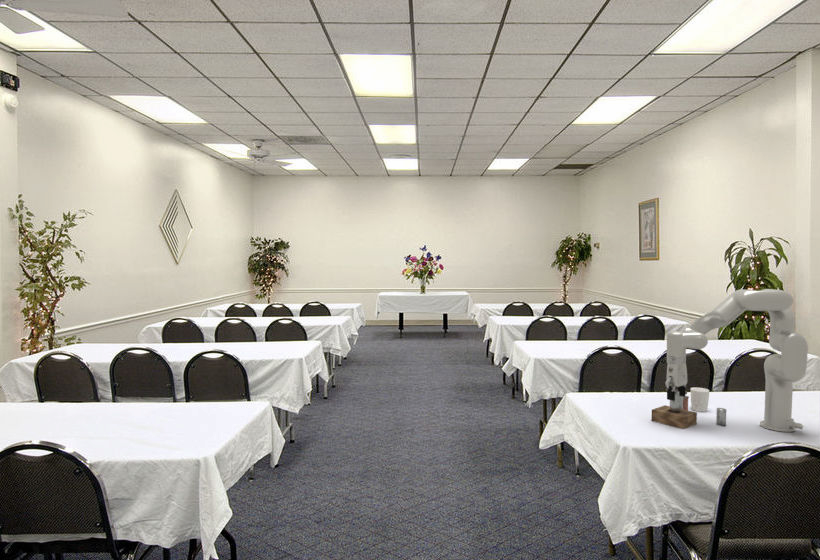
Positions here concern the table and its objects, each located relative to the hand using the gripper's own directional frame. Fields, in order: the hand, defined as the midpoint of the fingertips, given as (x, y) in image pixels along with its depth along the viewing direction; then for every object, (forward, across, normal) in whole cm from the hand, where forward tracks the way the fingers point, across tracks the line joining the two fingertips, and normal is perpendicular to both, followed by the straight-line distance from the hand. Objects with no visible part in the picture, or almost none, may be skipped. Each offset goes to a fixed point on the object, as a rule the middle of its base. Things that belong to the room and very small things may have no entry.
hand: (676, 398), depth 228 cm
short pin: (+11, +13, -13) cm, 22 cm away
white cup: (+12, +29, +3) cm, 31 cm away
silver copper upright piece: (+11, +19, +8) cm, 23 cm away
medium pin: (+11, +10, +4) cm, 15 cm away
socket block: (+11, -1, +1) cm, 11 cm away
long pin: (+11, -1, +1) cm, 11 cm away
